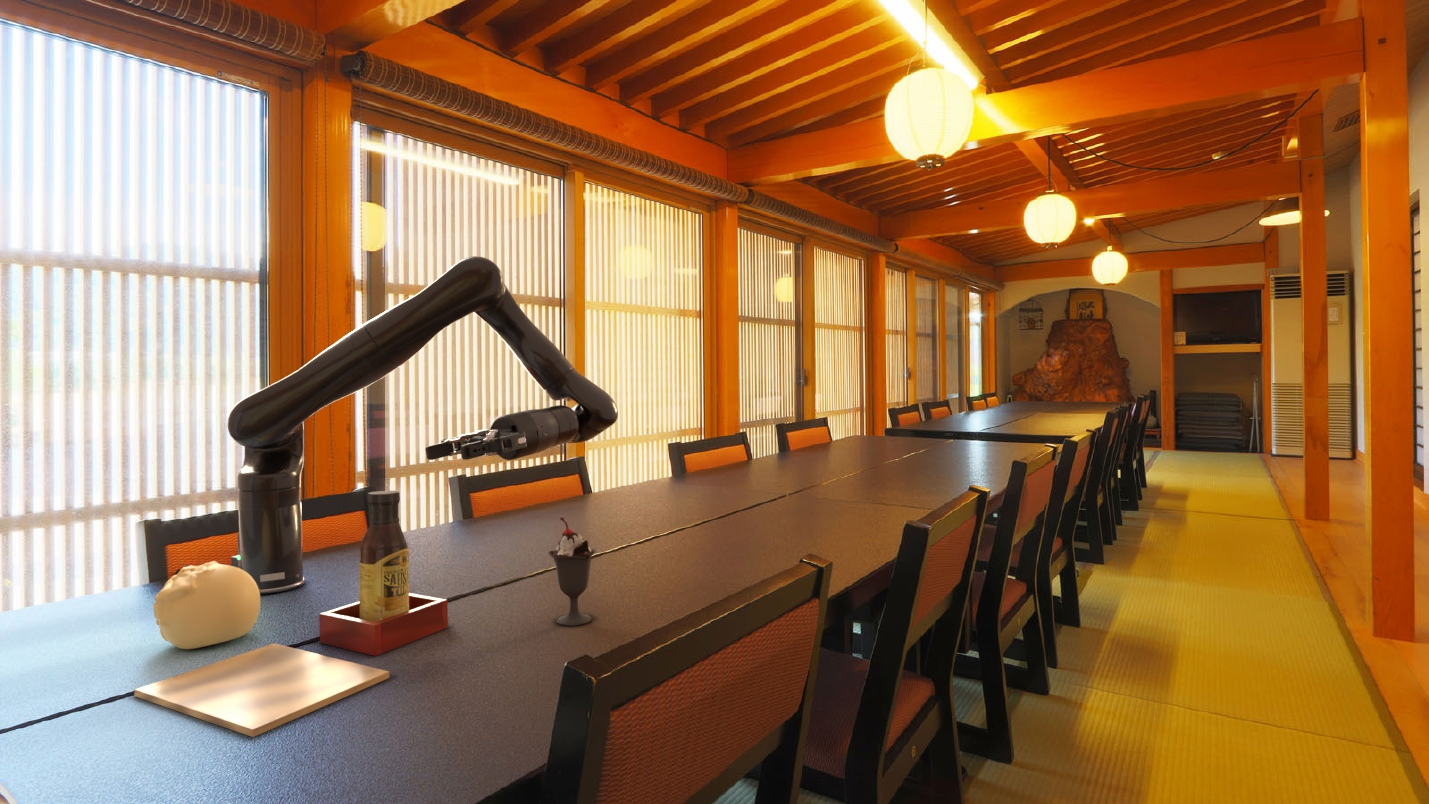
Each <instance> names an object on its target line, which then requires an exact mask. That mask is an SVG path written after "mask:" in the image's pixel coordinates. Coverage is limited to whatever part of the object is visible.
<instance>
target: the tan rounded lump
mask: <svg viewBox="0 0 1429 804" xmlns="http://www.w3.org/2000/svg"><path fill="white" fill-rule="evenodd" d="M189 565H190V566H188V567H183V568H182V569H180V571H179V572H178V574H177V575H175V574H174V575H172V576H171V577H170V578H169V579H167V580H166V582H165V584H164V586H163V588H162V589H160V591H159V592H158V593H157V594H156V595H155V596H154V600H155V601H154V603H153V605H152V606H153V607H152V609H153V616H154V618H155V620H156V621H155V623H156V625H157V626H158V627H159V633H160V636H161V638H162V639H163V640H164V641H166V642H169V643H170V644H171V645H173V646H174V647H176V648H178V649H181V650H195V649H199V648H203V647H207V646H212V645H213V646H214V645H218V644H221V643H224V642H229V641H232V640H235V639H238V638H241V637H243V636H245V635H247V634H248V633H249V632H250V631H251V630H252V629H253V627H254V626H255V624H256V622H257V620H258V617H259V615H260V610H261V602H262V601H261V594H260V592H259V589H258V586H257V584H256V582H255V581H254V579H253V578H252V577H251V576H250V575H249V574H248V573H247V572H245V571H244V570H242V569H240V568H237V567H234V566H230V565H231V564H230V565H229V564H221V563H219V562H218V561H216V560H212V561H209V562H204V563H202V564H200V565H191V564H189Z"/></svg>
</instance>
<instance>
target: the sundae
mask: <svg viewBox="0 0 1429 804" xmlns="http://www.w3.org/2000/svg"><path fill="white" fill-rule="evenodd" d="M560 520H561V521H562V522H563V523H564V525H565V530H564V531H563V532H562V533H561V539H560V540H559V541H558V543H557V545H556V549H553V550H550V551H549V552H548V555H549V556H550V557H551V558H552V559H553V560H554V563H555V568H556V575H557V576H556V577H557V583H558V586H559V589H560V591H561V592H562V593H563V594H564V595H565V596H567V597H568V598H569V610H568V613H567V614H565V615H562V616H560V617H558V618H557V620H556V622H557V624H559V625H560V626H566V627H576V626H582V625H585V624H588V623H590V622H591V621H592V617H591V615H589V614H586V613H582V612H581V611H580V608H579V597H580V596H581V595H582V594H583V593H585V591H586V589H587V588H588V585H589V579H590V572H591V562H592V556H593V555H594V554H596V552H597V549H596V548H590V546H589V540H587V539H585V538H583V536H582V535H581V534H579V533H578V532H574V531H573V529H571V528H569V525H568V523H567V521H566V520H565V518H564V517H563V516H560V517H559V521H560Z"/></svg>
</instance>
